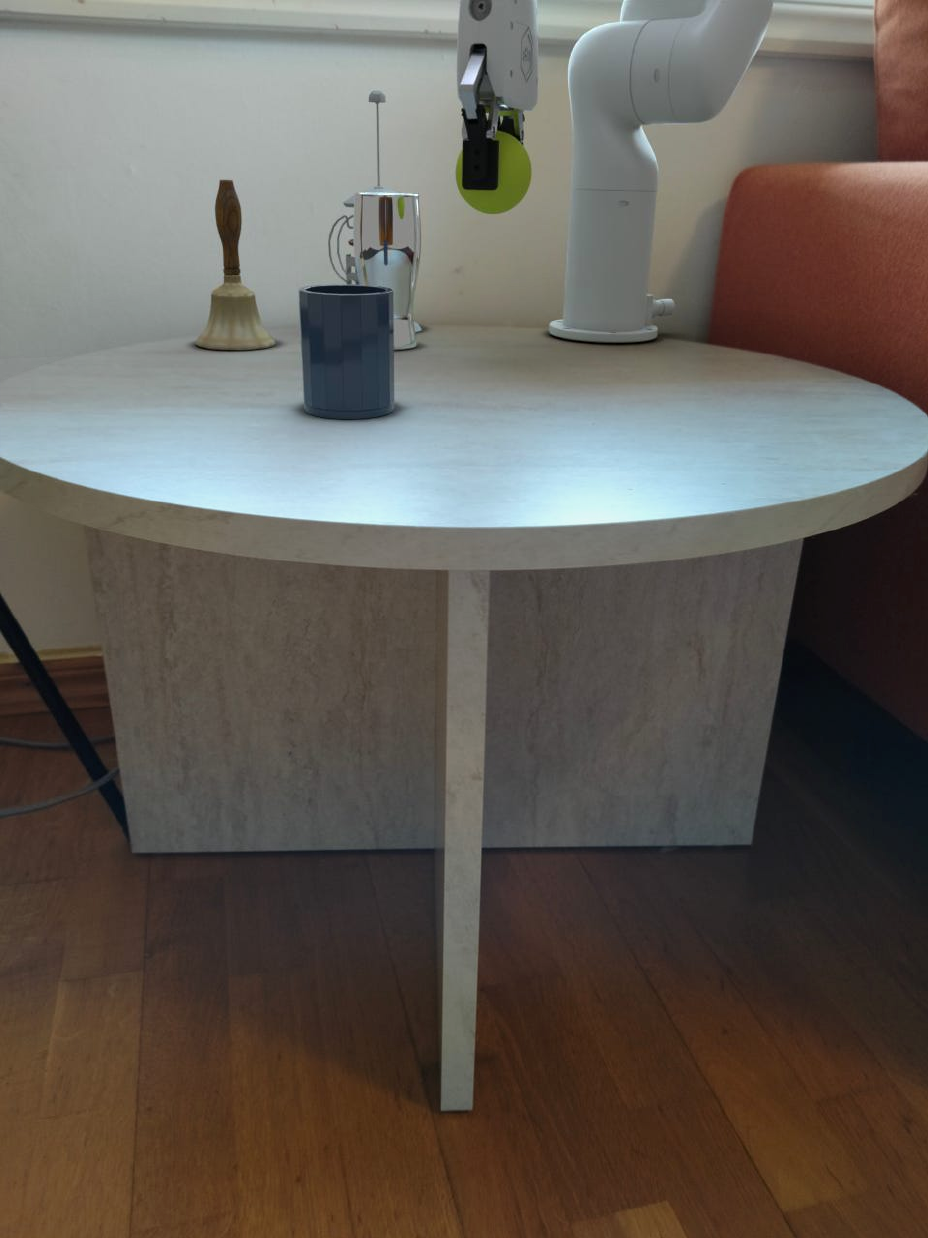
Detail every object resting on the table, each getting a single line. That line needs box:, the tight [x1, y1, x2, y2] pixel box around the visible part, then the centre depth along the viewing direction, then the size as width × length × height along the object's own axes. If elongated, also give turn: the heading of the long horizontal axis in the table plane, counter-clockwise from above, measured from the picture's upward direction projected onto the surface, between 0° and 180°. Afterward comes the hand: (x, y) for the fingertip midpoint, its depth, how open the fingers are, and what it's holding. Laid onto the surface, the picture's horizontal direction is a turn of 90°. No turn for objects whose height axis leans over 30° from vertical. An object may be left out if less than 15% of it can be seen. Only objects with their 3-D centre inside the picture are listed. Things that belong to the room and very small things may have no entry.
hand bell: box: [195, 179, 277, 351], centre depth 101 cm, size 8×8×16 cm
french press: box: [327, 89, 422, 333], centre depth 112 cm, size 10×12×25 cm
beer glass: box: [352, 192, 422, 351], centre depth 102 cm, size 7×7×15 cm
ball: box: [454, 131, 532, 215], centre depth 91 cm, size 7×7×7 cm
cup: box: [297, 283, 395, 420], centre depth 76 cm, size 7×7×9 cm
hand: (492, 187), depth 91 cm, fingers closed on ball, 6 cm apart
